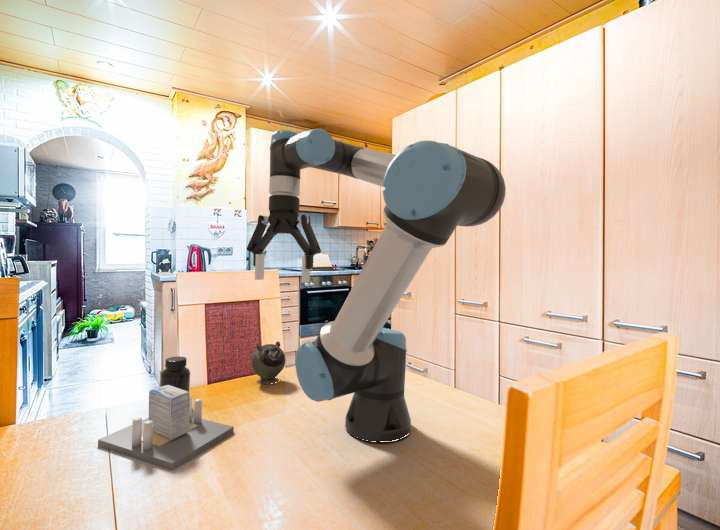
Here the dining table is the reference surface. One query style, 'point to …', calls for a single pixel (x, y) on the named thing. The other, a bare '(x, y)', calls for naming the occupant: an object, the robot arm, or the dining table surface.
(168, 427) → the medicine box
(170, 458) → the pin tray
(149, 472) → the dining table surface
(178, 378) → the supplement bottle
